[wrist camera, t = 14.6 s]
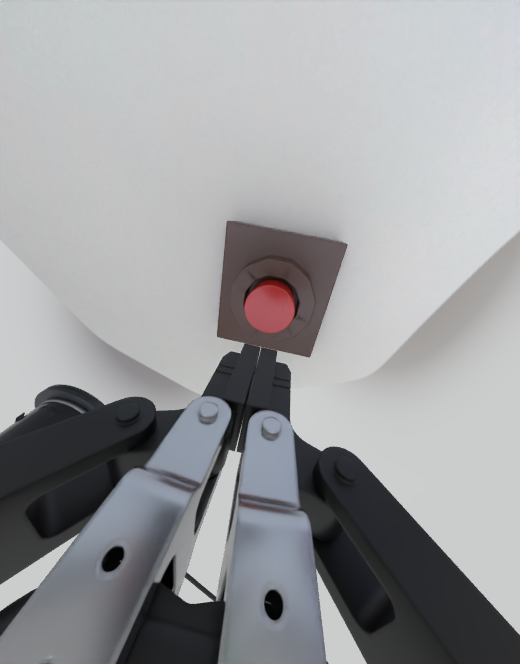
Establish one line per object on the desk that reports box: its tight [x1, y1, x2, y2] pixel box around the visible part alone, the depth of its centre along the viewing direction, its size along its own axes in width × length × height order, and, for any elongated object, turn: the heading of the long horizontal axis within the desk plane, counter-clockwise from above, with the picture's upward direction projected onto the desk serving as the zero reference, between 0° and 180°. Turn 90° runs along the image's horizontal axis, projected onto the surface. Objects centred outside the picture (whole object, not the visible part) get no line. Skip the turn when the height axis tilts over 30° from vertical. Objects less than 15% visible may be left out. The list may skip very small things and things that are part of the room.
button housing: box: [217, 221, 347, 357], centre depth 18 cm, size 10×9×4 cm
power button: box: [244, 280, 295, 333], centre depth 16 cm, size 4×4×2 cm
